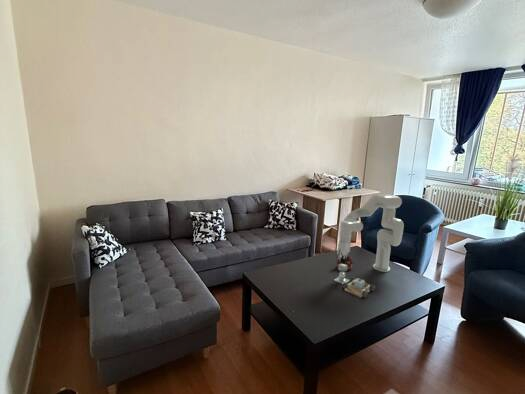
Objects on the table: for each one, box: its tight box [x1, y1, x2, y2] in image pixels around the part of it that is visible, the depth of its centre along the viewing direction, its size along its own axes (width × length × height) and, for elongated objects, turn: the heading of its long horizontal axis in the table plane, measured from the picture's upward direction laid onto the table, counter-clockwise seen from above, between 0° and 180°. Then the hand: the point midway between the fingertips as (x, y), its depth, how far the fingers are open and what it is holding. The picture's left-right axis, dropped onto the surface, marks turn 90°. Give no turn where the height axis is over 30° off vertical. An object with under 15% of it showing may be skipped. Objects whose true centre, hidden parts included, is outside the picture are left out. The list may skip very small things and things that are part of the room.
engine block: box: [354, 277, 366, 290], centre depth 186 cm, size 5×5×6 cm
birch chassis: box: [342, 276, 376, 299], centre depth 186 cm, size 16×16×4 cm
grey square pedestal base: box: [333, 271, 351, 285], centre depth 197 cm, size 8×8×6 cm
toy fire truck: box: [336, 254, 354, 271], centre depth 216 cm, size 7×12×10 cm, turn 81°
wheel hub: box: [337, 264, 348, 272], centre depth 196 cm, size 6×6×3 cm
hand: (342, 263), depth 195 cm, fingers closed
